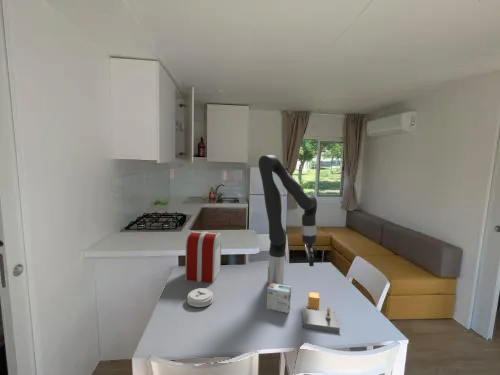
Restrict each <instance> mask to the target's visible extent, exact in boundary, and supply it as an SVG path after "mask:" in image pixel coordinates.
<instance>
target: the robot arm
mask: <svg viewBox="0 0 500 375" xmlns="http://www.w3.org/2000/svg"><path fill="white" fill-rule="evenodd" d="M257 164H258V168H259V174H260V177H261V183H262V190H263V198H264V204H265V205H264V206H265V210H266V215H267V220H268V238H269V241H270V243H269V244H270V245H269V250H268V268H267V279H266V280H267V281H266V282H267V283H266V284H267V285H270V284H271V283H275V284H280V285H284V279H285V278H284V276H285V259H286V258H285V257H286V249H287V247H286V246H287V231H286V229H285V228H284V227H283V223H282V196H281V193H280V190H279V188H278V186H277V184H276V183H275V181H274V180H275V179H274V176H273V174H276V175H277V177H278V178H279V180H280V181H281V183H282V185H283V187H284V189H286V191H287V192H288V193H289V194H290V195H291V196H292V197H293V199H294V200H295V202H296V204H297V205H298V207H299V208H301V209H302V210H304V212H303V214H302V215H301V241H302V243H304V244H305V245H304V246H305V253H306V260H307V261H308V266H309V267H314V265H315V264H314V261H315V246H314V244H315V243H317V240H318V239H317V237H318V236H317V224H316V221H317V219H316V216H317V209H318V202H317V198H316V197H315V196H314V195H312V194H311V195H310V194H306V193H305V192H304V191H305V190H304V188H303V186H302V185H301V184H300V183H299V182H298V181H296V180H295V178H294V177H293V176H292V175H291V174H290V173H289V171H288V170H287V169H286V168H285V166H284V165H283V163H282V162H281V160H279V158H278V157H277V156H276V155H274V154H266V155H261V156H260V157H259V159H258V163H257Z"/></svg>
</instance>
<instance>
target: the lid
mask: <svg viewBox="0 0 500 375" xmlns="http://www.w3.org/2000/svg"><path fill="white" fill-rule="evenodd" d="M213 301H214V293H213V291H211V290H210V289H207V288H204V287H203V288H202V287H200V288H195V289H192V290H191V291H190V292H189V293H188V295H187V304H188V305H189V306H191V307H194V308H205V307H207V306H209V305H211V304H212V303H213Z"/></svg>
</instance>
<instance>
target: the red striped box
mask: <svg viewBox="0 0 500 375" xmlns="http://www.w3.org/2000/svg"><path fill="white" fill-rule="evenodd" d="M221 260H222V235H221V233H220V232H213V231H205V230H204V231H201V230H199V231H197V230H192V231H191V232H190V233H188V235H187V237H186V242H185V266H184V267H185V268H184V269H185V270H184V273H185V276H184V280H185V281H190V282H191V281H192V282H197V283H198V282H199V283H210V284H214V283H215V281H216V280H217V278H218V277H219V275H220V273H221V269H222V268H221V265H222V264H221Z"/></svg>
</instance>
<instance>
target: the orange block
mask: <svg viewBox="0 0 500 375" xmlns="http://www.w3.org/2000/svg"><path fill="white" fill-rule="evenodd" d="M307 294H308V295H307V308H311V309H318V310H320V298H321V297H320V294H319V292H313V291H312V292H311V291H308V292H307Z"/></svg>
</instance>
